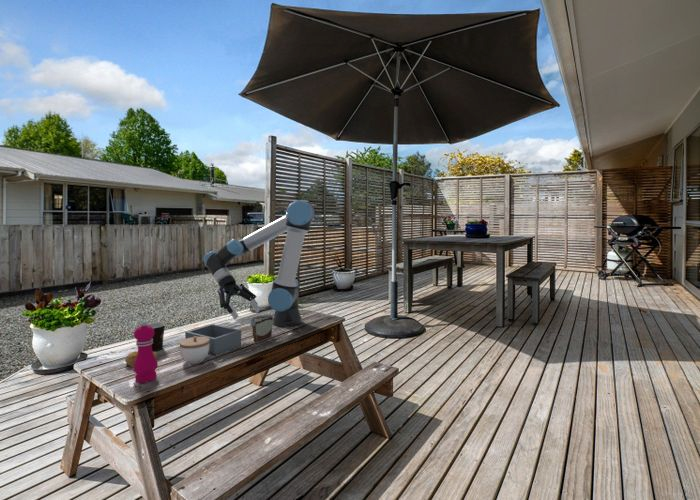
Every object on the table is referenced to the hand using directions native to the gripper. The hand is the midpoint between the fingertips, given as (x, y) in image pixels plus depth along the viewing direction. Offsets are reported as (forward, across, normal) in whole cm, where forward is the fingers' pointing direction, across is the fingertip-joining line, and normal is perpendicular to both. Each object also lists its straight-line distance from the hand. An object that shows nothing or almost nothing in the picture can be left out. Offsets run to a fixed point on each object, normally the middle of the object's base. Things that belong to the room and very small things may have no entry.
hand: (247, 314), depth 168 cm
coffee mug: (-8, +30, -24) cm, 39 cm away
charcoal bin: (+6, +17, -9) cm, 20 cm away
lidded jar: (+10, +31, -5) cm, 33 cm away
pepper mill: (+10, +50, -5) cm, 51 cm away
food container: (+12, -1, -3) cm, 13 cm away
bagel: (-1, +42, -16) cm, 46 cm away
